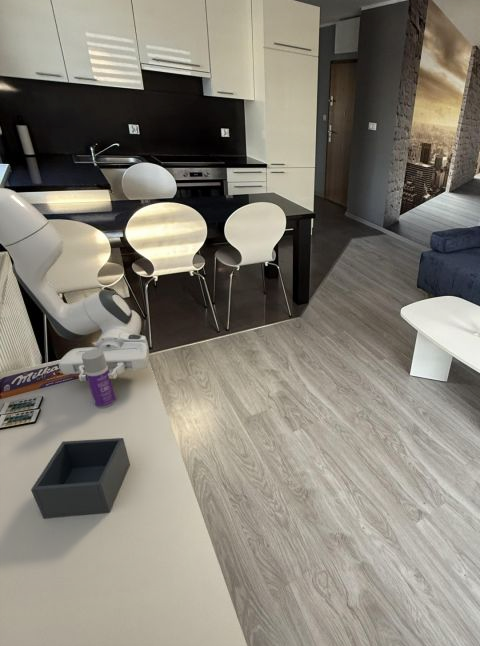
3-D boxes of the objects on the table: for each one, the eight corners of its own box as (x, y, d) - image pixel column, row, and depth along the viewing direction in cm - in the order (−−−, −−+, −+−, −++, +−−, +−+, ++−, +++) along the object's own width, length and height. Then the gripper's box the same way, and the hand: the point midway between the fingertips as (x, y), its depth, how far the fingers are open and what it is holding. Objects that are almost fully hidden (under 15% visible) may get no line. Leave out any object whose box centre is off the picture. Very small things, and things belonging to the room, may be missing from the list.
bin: (43, 518, 74) (30, 489, 71) (72, 468, 84) (62, 441, 80) (109, 512, 76) (100, 484, 73) (130, 464, 86) (123, 437, 83)
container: (107, 409, 100) (94, 360, 93) (90, 406, 101) (76, 357, 94) (120, 397, 104) (108, 350, 98) (103, 394, 105) (91, 347, 98)
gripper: (68, 339, 106) (44, 370, 94) (151, 335, 111) (139, 364, 99) (73, 359, 109) (51, 391, 97) (155, 354, 114) (143, 384, 102)
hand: (97, 377), depth 98 cm, fingers open, 5 cm apart
